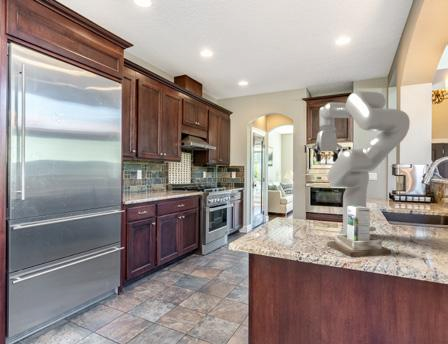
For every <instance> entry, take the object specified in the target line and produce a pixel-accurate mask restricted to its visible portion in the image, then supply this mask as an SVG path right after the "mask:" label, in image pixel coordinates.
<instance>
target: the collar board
mask: <svg viewBox="0 0 448 344" xmlns="http://www.w3.org/2000/svg"><path fill="white" fill-rule="evenodd" d="M334 236H335V237H334V240H331V241H327V243H326V244H327V246H328V247H329V248H332V249H334V250H336V251H337V252H340V253H342V254H344V255H346V256H348V257H350V258H351V257H352V258H354V257H356V258H357V257H369V256H384V255H392V250H391V249H390V248H387V247H384V246H382V240H381V239H378V238H375V237H372V236H370V240H368V241H353V240H350V239H348V238H347V234H335V235H334Z"/></svg>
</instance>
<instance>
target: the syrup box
mask: <svg viewBox="0 0 448 344" xmlns="http://www.w3.org/2000/svg"><path fill="white" fill-rule="evenodd" d="M370 212H371V209H370V207H366V208H365V207H361V206H348V207H347V238H348V239H350V240H353V241H368V240H370V237H371V233H370V232H371V231H370V227H371V219H370V218H371V213H370Z"/></svg>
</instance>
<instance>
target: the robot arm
mask: <svg viewBox="0 0 448 344" xmlns="http://www.w3.org/2000/svg"><path fill="white" fill-rule="evenodd" d="M386 102H387V101H386V97H385V96H384V94H382V93H381V92H378V91H363V90H356V91H353V92H351V94H349V96H348V97H347V99H346V102H328V103H326V104H325V105H324V106H321V107H320V108H319V112H318V113H319V117H318V118H319V131H318V133H317V135H316V136H317V137H316V143H314V144H313V145H312V146H311V149H312V151H313V152H314V154H315V155H316V156H315V161H316V162H318V163H320V162H321V161H322V154H321V153H322V152H332V162H333V163H332V165H331V167H330V169H329V170H328V173H327V181H328V183H329V185H331V186H332V187H335V188H345V190H344V192H343V194H342V195H343V196H342V230H339V231H338V232H339V234H347V207H348V206H361V207H365V208H367V193H368V192H367V191H368V186H369V185H368V184H369V180H370V173H369V172H372V171H374V170H375V169H377V167H378V166H380V165H381V163H382V162H383V161H384V160H385V159H386V158H387V156H388V155H389V154H390V153H391V152H392V151H393V150H394V149H395V148H396V147H397V146H399V144H400V143H402V142H403V141H404V139H405V138H406V136H407V134H408V133H409V130H410V125H411V123H410V122H411V121H410V116H409V115H408V114H407V113H406V112H405V111H403V110H401V109H395V108H384V107H385V105H386ZM335 118H336V119H351V118H353V120H354V121H355V122H356V124H357V125H358V127H359V128H360V129H361V130H364V131H368V132H369V131H370V132H380V133H378V134H377V135H375V136H373V137H372V138H371V139H370V140H368V142H367V144H366V145H365V146H363V147H362V148H357V149H354V148H353V149H352V148H350V149H349V148H348V149H346V150H343V151H342V152H341V150H342V149H343V146H342V145H341V144H339V143H338V139H337V132H335V131H336V130H337V127H336V126H335V123H336V121H335ZM376 230H377V228H376V226H370V232H375V231H376Z"/></svg>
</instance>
